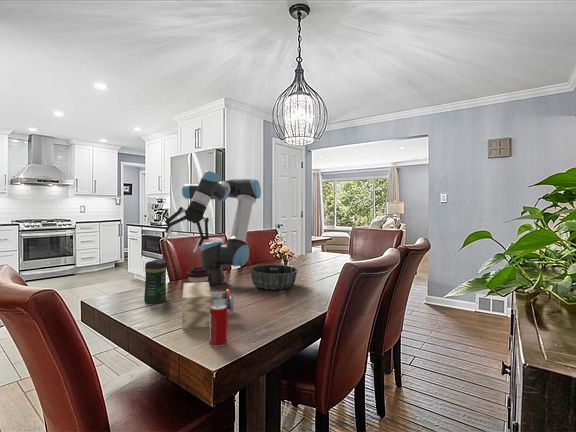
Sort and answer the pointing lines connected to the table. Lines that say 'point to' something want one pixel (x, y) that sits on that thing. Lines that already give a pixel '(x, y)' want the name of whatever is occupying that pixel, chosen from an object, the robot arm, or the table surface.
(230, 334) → the table surface
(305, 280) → the table surface
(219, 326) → the soda can
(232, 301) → the steel plug
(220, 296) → the red plug
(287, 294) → the table surface
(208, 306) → the block
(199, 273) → the coffee cup
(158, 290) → the coffee jar
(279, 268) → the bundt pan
